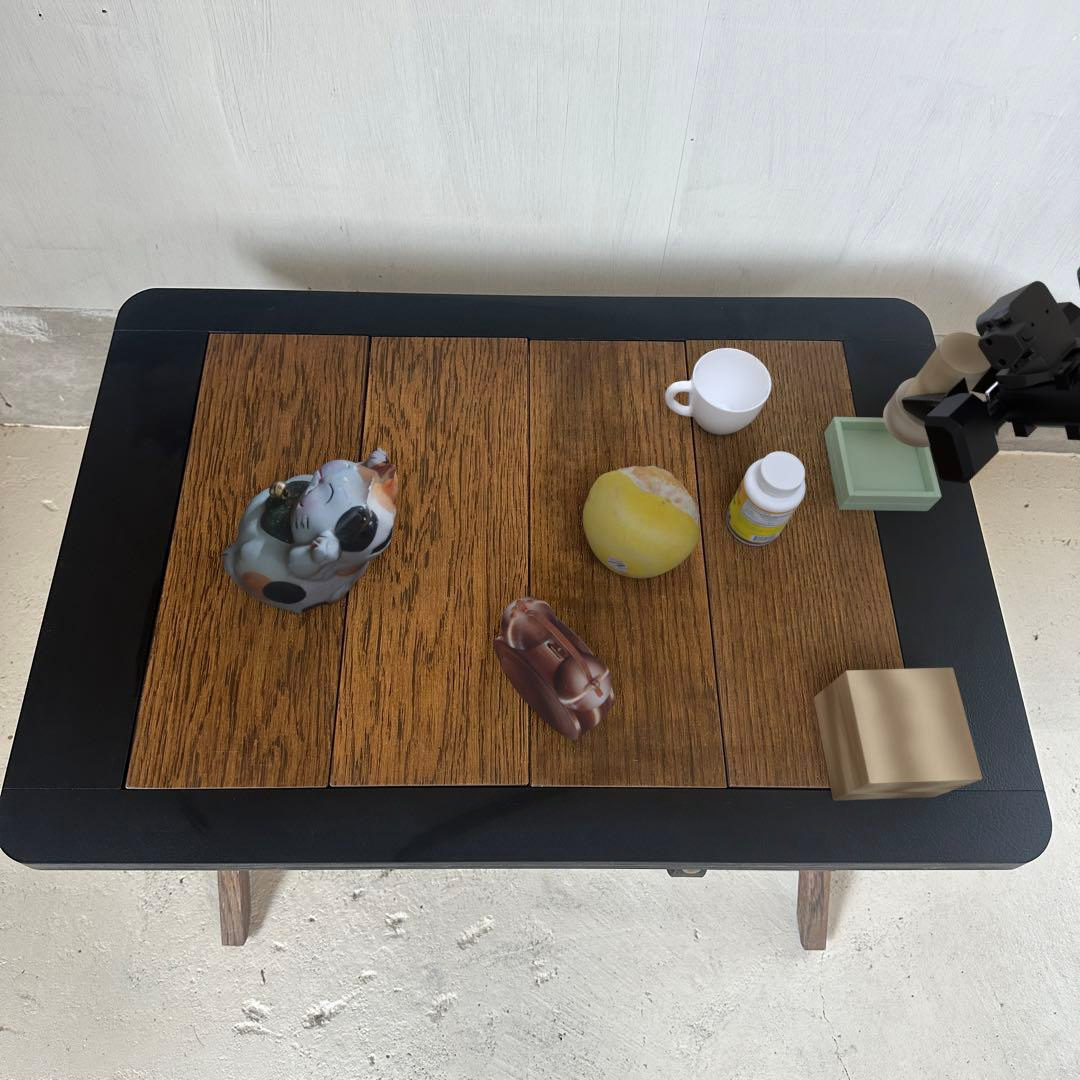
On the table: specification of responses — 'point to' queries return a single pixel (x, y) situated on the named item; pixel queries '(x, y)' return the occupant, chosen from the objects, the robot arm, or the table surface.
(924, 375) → the tan cylindrical piece
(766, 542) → the supplement bottle
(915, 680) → the stand
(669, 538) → the fruit
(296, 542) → the lucky cat figurine
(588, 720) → the alarm clock
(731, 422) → the cup
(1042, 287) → the robot arm
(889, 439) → the mint green tray
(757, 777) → the table surface
